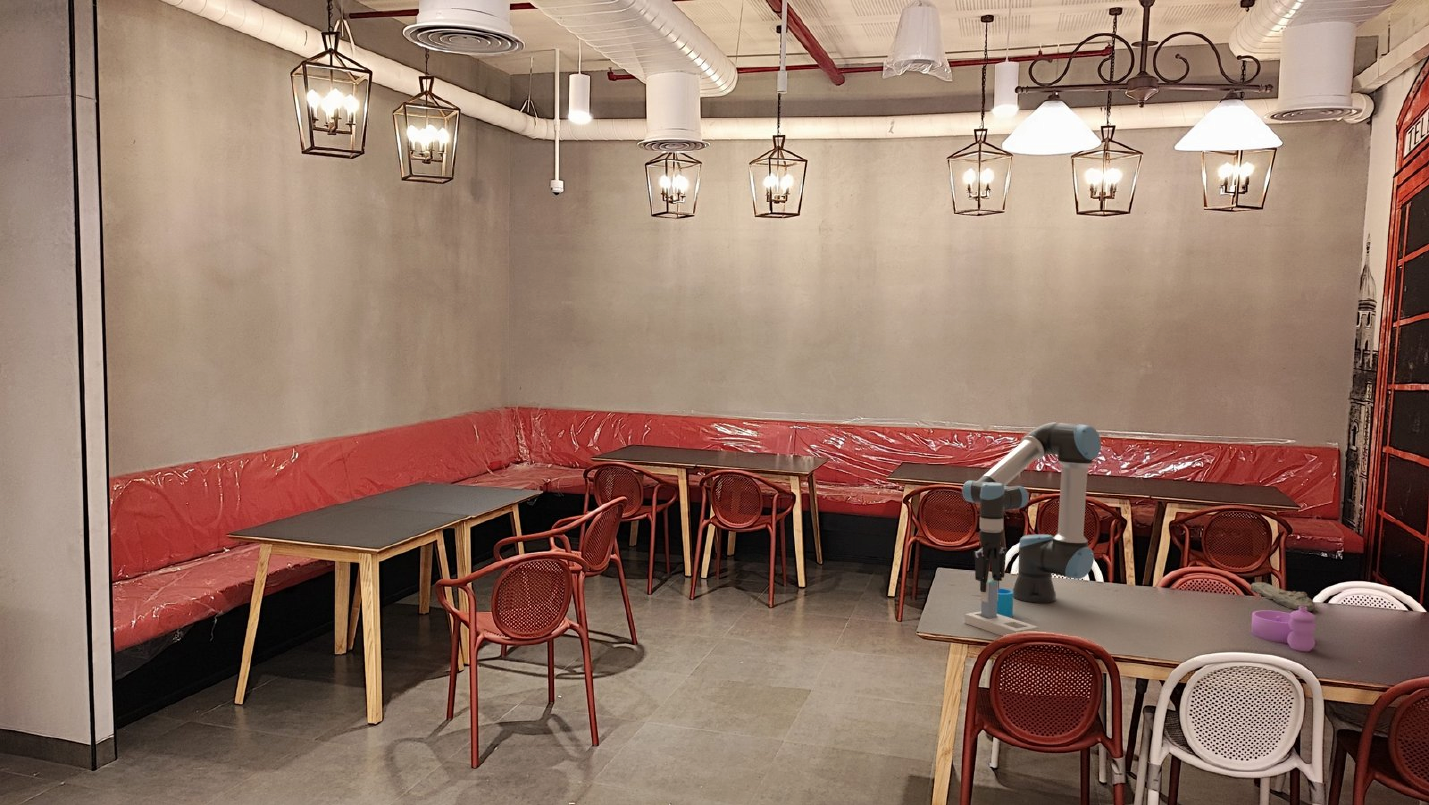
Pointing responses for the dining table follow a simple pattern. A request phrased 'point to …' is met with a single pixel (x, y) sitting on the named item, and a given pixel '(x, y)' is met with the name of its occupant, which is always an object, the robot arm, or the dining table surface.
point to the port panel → (998, 624)
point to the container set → (1285, 627)
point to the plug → (990, 600)
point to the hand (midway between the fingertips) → (989, 600)
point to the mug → (1005, 602)
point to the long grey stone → (1283, 596)
